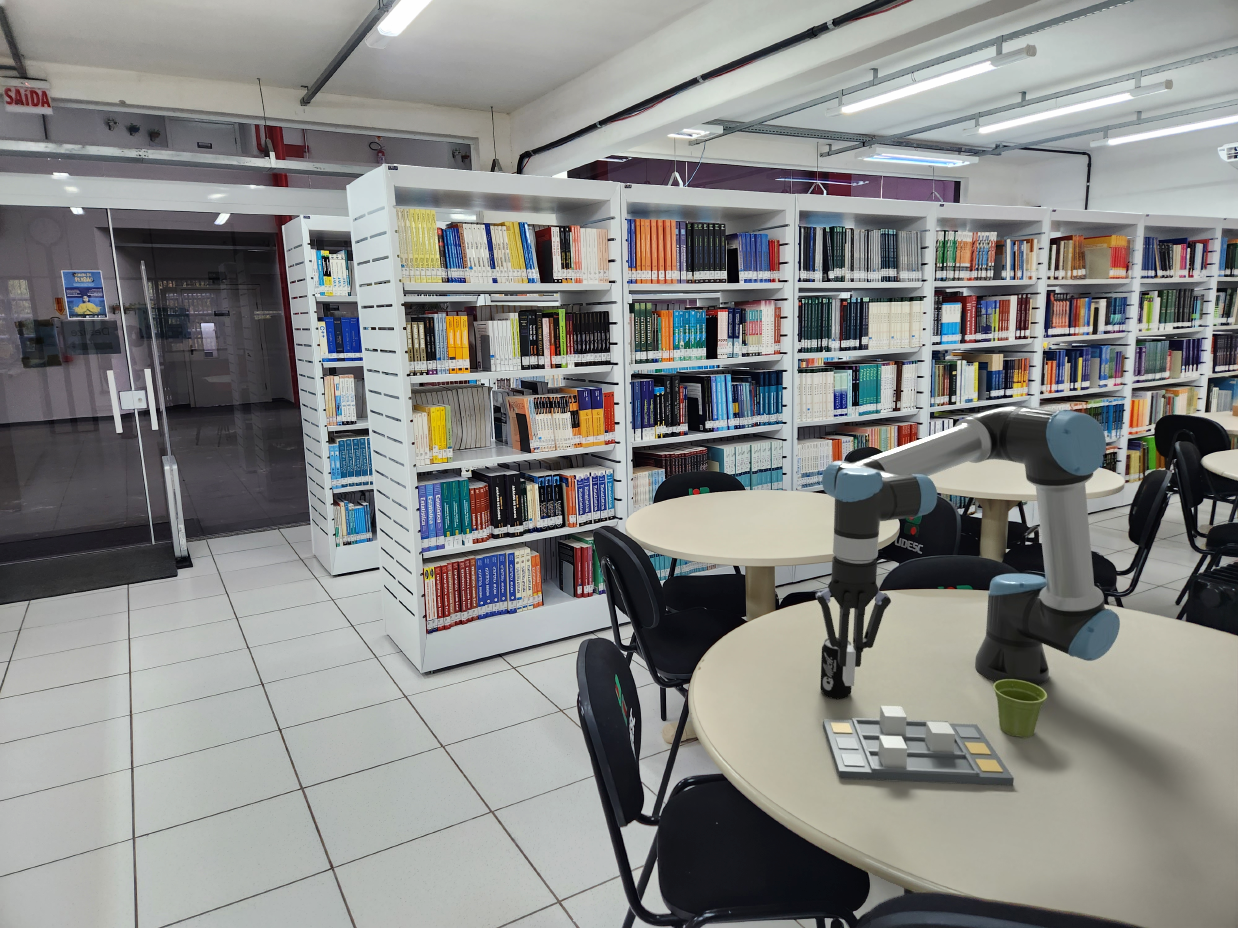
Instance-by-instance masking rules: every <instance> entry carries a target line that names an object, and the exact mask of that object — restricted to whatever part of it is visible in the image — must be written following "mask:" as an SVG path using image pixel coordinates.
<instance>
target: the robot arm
mask: <svg viewBox="0 0 1238 928" xmlns="http://www.w3.org/2000/svg"><path fill="white" fill-rule="evenodd" d="M1106 451H1107V438H1106V434H1105V432H1104V429H1103V427H1102V424H1100V422H1099V421H1098V420H1097V419H1096V418H1094V417H1092V416H1091V415H1089V414H1087V413H1083V412H1077V411H1075V410H1070V409H1055V408H1053V409H1052V408H1047V407H1045V408H1043V407H1036V406H1035V407H1034V406H1027V405H1019V404H1018V405H1008V406H1002V407H997V408H994V409H990V410H986V411H983V412H980V413H976V414H973V415H970V416H968V417H965V418H962V419H960V420H958V421H957V422H956V423H955V425H954V426H953V427H951V428H948V429H945V430H943V431H940V432H936V433H934V434H931V435H929V436H926V437H925V436H924V437H923V438H920V439H918V440H914V441H911V442H909V443H906V444H903V445H901V446H897V447H894V448H892V449H890V450H886V451H884V452H881V453H878V454H875V455H872V456H870V457H866V458H864V459H860V460H857V461H853V462H850V461H848V460H835V461H833V462H831V463H829V464H828V465H827V466H826V467H825V469H824V471H823V473H822V478H821V484H822V489H823V491H824V492H825V494H826V495H828V496H830V497H831V498H834V516H833V517H834V518H833V519H834V520H833V521H834V522H833V539H832V540H833V541H832V543H833V544H832V553H833V555H834V556H833V557H832V560H831V561H832V564H831V578H830V581H829V583H828V584H827V585H828V586H827V588H826V589H824V590H823V591H816V592H815V595H814V596H815V598H816V600H817V602H818V604H819V605H820V608H821V611H822V616H823V620H824V627H825V630H826V635H827V638H828V640H829V642H830V645H831V646H832V647H837V648H838V662H839V665H840V666H843V681H844V683H845V686H852V687H855V672H856V668H860V667H861V666H862V653H863V652H864V649H867V648H868V649H872V648H873V647H874V644H875V642H876V637H877V634H878V632H879V629H880V626H881V623H882V619H883V617H884V613H885V611H886V609H887V608H888V607H889V606H890V605H891V603H892V600H891V598H890V596H889V595H888V594H887V593H886V592H882V591H880V590H879V589H880V588H879V585H877V573H878V560H877V557H878V555H879V535H880V526H881V525H880V524H881V522H887V521H894V520H901V519H902V520H903V519H910V518H911V519H914V518H917V517H920V516H924V515H928V514H930V513H931V512H932V511H933V510H934V509H935V507H936V505H937V503H938V491H937V490H938V489H937V486H936V484H935V483H934V481H933V480H932V479H931V478H930V477H929V476H932V475H935V474H938V473H941V472H943V471H945V470H949V469H951V468H954V467H956V466H960V465H962V464H965V463H974V464H980V463H982V462H985V461H987V460H998V461H999V460H1001V461H1007V462H1013V463H1018V464H1021V465H1022V464H1023V465H1024V468H1025V469H1024V472H1025V478H1026V481H1027V482H1029V483H1030V484H1031V485H1033V486H1035V489H1036V490H1035V492H1036V500H1037V510H1038V518H1039V519H1038V521H1039V530H1040V536H1041V537H1040V538H1041V539H1040V540H1041V546H1042V547H1041V548H1042V555H1043V557H1042V558H1043V566H1044V567H1043V568H1044V576H1045V577H1043V576H1041V575H1037V574H1030V573H1029V574H1028V573H1004V574H1000V575H996V576H995V577H993V578H992V579H991V581H990V583H989V592H988V593H987V595H988V598H987V615H986V630H985V635H984V639H983V640H982V643H981V645H980V647H979V649H978V650H977V653H976V655H975V662H974V663H975V664H974V667H975V669H976V671H977V672H978V673H979V674H980V675H982V676H983V677H986V678H987V679H988V680H991V681H994V682H995V683H996V682H997V681H1000V680H1006V679H1014V680H1021V681H1025V682H1029V683H1032V684H1034V685H1037V686H1039V687H1040V686H1042V685H1044V684H1045V683H1047V682H1048V680H1049V672H1050V669H1049V665H1048V660H1047V658H1046V654H1045V649H1044V646H1043V645H1045V646H1048V647H1049V648H1053V649H1054V650H1057V651H1060V652H1062V653H1063V654H1064V653H1065V654H1067V655H1068V656H1069V657H1072V658H1074V657H1075V658H1078V659H1080V660H1083V661H1087V662H1091V661H1096V660H1098V659H1100V658H1102V657H1103V656H1104V655H1106V654H1107V653H1108V652H1109V651H1110V650H1111V648H1112V647H1113V645H1114V643H1115V642H1116V639H1117V638H1118V635H1119V631H1120V626H1121V621H1120V619H1121V618H1120V616H1119V614H1117V613H1116V612H1115V611H1114V610H1113V609H1111V608H1110V609H1109V608H1106V607H1105V597H1104V593H1103V591H1102V590H1101V589H1100V588H1098V587H1097V586H1095V583H1094V581H1095V580H1094V568H1093V559H1092V557H1093V556H1092V547H1091V535H1090V522H1089V513H1088V511H1089V510H1088V501H1087V489H1086V483H1088V482H1089V481H1090V480H1091V479H1092V478H1093V477H1094V472H1096V471H1097V470H1098V469H1099V468H1100V467H1101V466H1102V463H1103V461H1104V457H1103V455H1105V454H1106ZM831 596H832V598H834V600H835V602H836V603H837V604H838V606H839V620H838V621H839V622H838V635H836V631H835V626H834V622H833V621H834V620H833V617H832V613H831V608H830V605H829V604H830V603H831ZM873 600H874V605H873V608H872V611H871V614H870V618H869V621H868V623H867V625H866V626H867V627H866V630H865V633H864V629H865V628H864V627H865V626H864V625H865V615H866V607H867V606H868V605H870V603H871V602H872V601H873ZM852 609H853V610H854V611H853V612H854V613H853V614H854V616H853V633H852V635H853V636H852V644H853V645H851V646H849V645H848V640H849V625H850V615H851V610H852ZM837 636H838V638H836V637H837Z"/></svg>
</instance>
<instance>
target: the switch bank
mask: <svg viewBox="0 0 1238 928" xmlns="http://www.w3.org/2000/svg"><path fill="white" fill-rule="evenodd" d="M926 722H948V723H949V725H950V726H951V728H952V730H953V731H954V733H955V741H954V752H934V751H930V749H929V747H928V745H927V744H926V742H925V733H926ZM822 727H823V731H824V733H825V737H826V741H827V743H828V747H829V750H830V753H831V756H832V760H833V763H834V765H835V769H836V774H837V775H838V779H844V780H845V779H847V780H848V779H849V780H871V781H873V780H874V781H892V782H894V781H895V782H897V781H898V782H918V783H919V782H920V783H937V784H938V783H941V784H942V783H943V784H945V783H946V784H963V785H964V784H965V785H966V784H967V785H968V784H969V785H987V786H988V785H991V786H1011V787H1012V786H1014V780H1015V778H1014V776H1013V775H1012V774H1011V772H1010V770H1009V769H1008V767H1007V766H1006V765H1005V763H1004V762H1003V760H1002V759H1001V757H1000V755H999V754H998V753H997V751H996V750H995V749H994V747H993V746H992V744H991V743H990V741H989V739H988V738H987V737H986V735H985V734H984V733H983V731H982V729H981V728H980V727H979V726H978V724H977V723H976V724H973V723H972V724H971V723H969V724H968V723H950V722H949V721H948V720H922V719H907V720H906V735H896V734H884V733H883V731H882V729H881V726H880V718H870V717H869V718H866V717H864V718H863V717H852V718H851V719H834V718H832V719H826V718H824V719H823V720H822ZM879 736H902V738H903V740H904V742H905V744H906V746H907V764H906V768H895V767H883V765H882V763H881V761H880V758H879V756H878V750H879Z"/></svg>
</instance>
